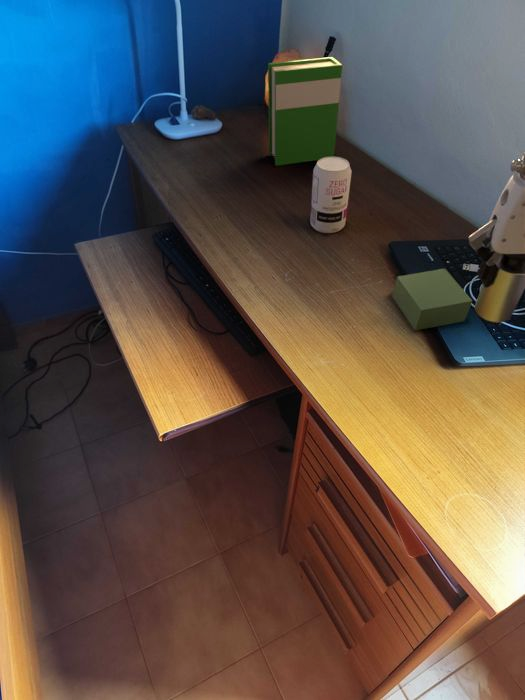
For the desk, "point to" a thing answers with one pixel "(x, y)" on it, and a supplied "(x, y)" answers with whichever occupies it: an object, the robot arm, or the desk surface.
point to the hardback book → (303, 109)
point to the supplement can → (330, 194)
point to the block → (431, 299)
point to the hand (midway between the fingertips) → (505, 280)
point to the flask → (503, 289)
